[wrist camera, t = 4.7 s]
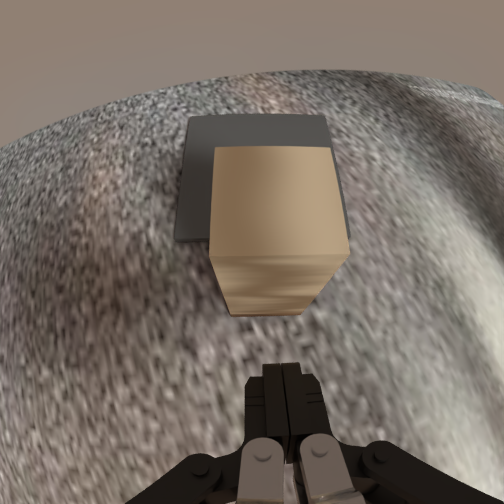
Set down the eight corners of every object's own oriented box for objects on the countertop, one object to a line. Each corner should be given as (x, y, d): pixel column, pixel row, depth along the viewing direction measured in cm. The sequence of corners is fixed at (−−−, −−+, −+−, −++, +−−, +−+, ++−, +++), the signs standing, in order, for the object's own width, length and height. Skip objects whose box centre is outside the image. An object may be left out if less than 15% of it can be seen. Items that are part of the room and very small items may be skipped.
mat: (323, 119, 29) (324, 115, 29) (348, 239, 24) (350, 236, 23) (191, 120, 29) (190, 116, 28) (175, 242, 24) (174, 238, 23)
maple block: (295, 251, 23) (330, 147, 12) (300, 314, 22) (350, 253, 10) (231, 252, 23) (215, 147, 12) (231, 316, 22) (208, 256, 10)
